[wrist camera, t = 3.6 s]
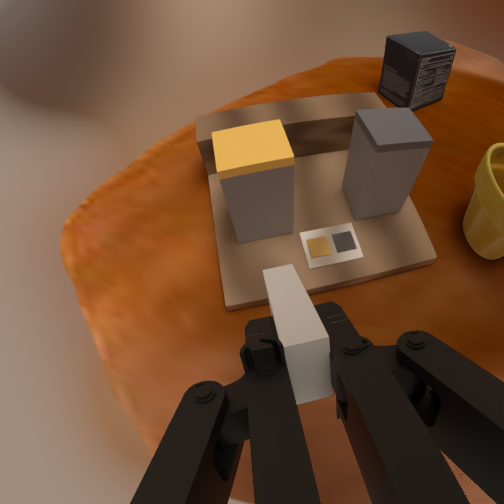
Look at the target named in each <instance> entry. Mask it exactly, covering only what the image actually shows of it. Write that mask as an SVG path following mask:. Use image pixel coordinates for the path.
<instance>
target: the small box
mask: <svg viewBox="0 0 504 504" xmlns="http://www.w3.org/2000/svg"><path fill="white" fill-rule="evenodd" d="M455 52H456V48H455V47H453V46H452V45H450V44H448V43H446V42H445V41H443V40H441V39H439V38H438V37H435V36H434V35H432V34H430V33H428V32H426V31H424V32H413V33H405V34H397V35H390V36H387V38H386V46H385V54H384V60H383V67H382V73H381V79H380V84H379V90H378V93H379V94H381V95H382V96H384V97H385V98H386V99H388V100H389V101H390V102H392V103H393V104H395V105H396V106H397V107H398V108H410V110H411V111H415V110H417V109H419V108H422V107H424V106H427V105H429V104H431V103H434V102H436V101H439V100H441V99H442V97H443V94H444V90H445V87H446V84H447V80H448V77H449V73H450V70H451V67H452V63H453V60H454V56H455Z"/></svg>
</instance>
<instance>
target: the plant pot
mask: <svg viewBox="0 0 504 504" xmlns="http://www.w3.org/2000/svg"><path fill="white" fill-rule="evenodd" d="M474 184H475V189H474V192H473V195H472V198H471V200H470V203H469V206H468V208H467V211H466V213H465V216H464V219H463V231H464V235H465V237H466V240H467V242H468V243H469V245H470V246H471V248H472V249H473V250H474V251H475V252H476V253H477V254H478V255H480V256H481V257H483V258H486V259H491V260H494V259H498V258H500V257H503V256H504V143H497V144H494V145H492V146H491V147H490V148H489V149H488V150H487V152H486V153H485V155H484V157H483V159H482V160H481V162H480V164H479V166H478V168H477V170H476V173H475V179H474Z"/></svg>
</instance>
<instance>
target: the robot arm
mask: <svg viewBox="0 0 504 504" xmlns="http://www.w3.org/2000/svg"><path fill="white" fill-rule="evenodd" d="M263 275H264V280H265V285H266V290H267V295H268V300H269V305H270V310H271V315H272V316H270V317H265V318H260V319H255V320H250V321H249V322H248V324H247V325H246V327H245V336H246V343H245V344H244V345H243V346H242V348H241V350H240V357H241V360H242V363H243V367H244V370H245V374H244V375H243V376H242V377H241V378H240V379H239V380H237V381H235V382H233V383H231V384H229V385H226V386H224V387H223V386H222V385H221V384H220V383H218V382H215V381H202V382H200V383H197V384H194V385H193V386H191V387H190V388H189V389H188V390H187V391H186V392H185V394H184V396H183V398H182V400H181V402H180V404H179V406H178V408H177V410H176V412H175V414H174V416H173V418H172V420H171V422H170V424H169V426H168V428H167V430H166V432H165V434H164V436H163V438H162V440H161V442H160V444H159V446H158V448H157V450H156V452H155V454H154V456H153V458H152V460H151V462H150V464H149V466H148V469H147V471H146V473H145V475H144V477H143V479H142V481H141V483H140V485H139V487H138V489H137V491H136V493H135V495H134V497H133V499H132V501H131V503H130V504H227V503H228V500H229V496H230V493H231V489H232V486H233V482H234V478H235V475H236V471H237V467H238V464H239V460H240V456H241V452H242V448H243V445H244V441H245V440H247V439H250V446H251V459H252V472H253V484H254V497H255V504H321V502H320V498H319V494H318V490H317V486H316V482H315V477H314V473H313V469H312V465H311V461H310V457H309V453H308V449H307V445H306V441H305V436H304V432H303V428H302V424H301V420H300V416H299V412H298V408H297V405H298V404H302V403H306V402H311V401H315V400H319V399H323V398H327V397H330V396H333V389H334V392H335V394H336V406H337V419H339V418H340V416H341V419H342V421H343V424H344V427H345V430H346V432H347V435H348V438H349V440H350V443H351V446H352V449H353V451H354V454H355V457H356V460H357V462H358V465H359V468H360V471H361V473H362V476H363V479H364V482H365V485H366V487H367V490H368V493H369V496H370V499H371V502H372V504H470V503H469V501H468V499H467V497H466V496H465V494H464V492H463V490H462V488H461V486H460V485H459V483H458V481H457V479H456V477H455V476H454V474H453V472H452V470H451V468H450V467H449V465H448V463H447V461H446V460H445V458H444V456H443V455H442V453H441V451H442V452H443V453H444V454H445V455H446V456H447V457H448V458H449V459H450V460H451V461H453V462H454V463H455V464H456V465H457V466H458V467H459V468H460V469H461V470H462V471H463V472H464V473H465V474H466V475H467V476H468V477H469V478H470V479H471V480H473V481H474V482H475V483H476V484H477V485H478V486H479V487H480V488H481V489H482V490H483V491H484V492H485V493H486V494H487V495H488V496H489V497H491V498H492V499H493V500H494V501H495V502H496V503H497V504H504V382H502V381H501V380H499V379H498V378H496V377H495V376H493V375H492V374H490V373H489V372H487V371H486V370H484V369H483V368H481V367H480V366H478V365H477V364H475V363H474V362H472V361H471V360H469V359H468V358H466V357H465V356H463V355H462V354H460V353H459V352H457V351H455V350H454V349H452V348H451V347H449V346H448V345H446V344H445V343H443V342H442V341H440V340H439V339H437V338H435V337H434V336H432V335H431V334H429V333H427V332H424V331H417V330H416V331H409V332H406V333H404V334H402V335H401V336H400V337H399V338H398V341H397V345H390V346H375V345H373V343H372V342H371V341H370V340H369V339H367V338H364V337H361V336H359V334H358V333H357V331H356V329H355V328H354V326H353V325H352V323H351V322H350V320H349V319H348V317H347V316H346V314H345V313H344V311H343V310H342V308H341V307H340V306H339V305H337V304H335V303H334V302H328V303H323V304H319V305H315V306H313V304H312V302H311V300H310V298H309V296H308V294H307V292H306V290H305V288H304V286H303V284H302V282H301V280H300V278H299V276H298V274H297V272H296V270H295V269H294V267H293V265H292V264H289V265H284V266H279V267H275V268H270V269H265V270H263ZM440 450H441V451H440Z"/></svg>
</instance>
